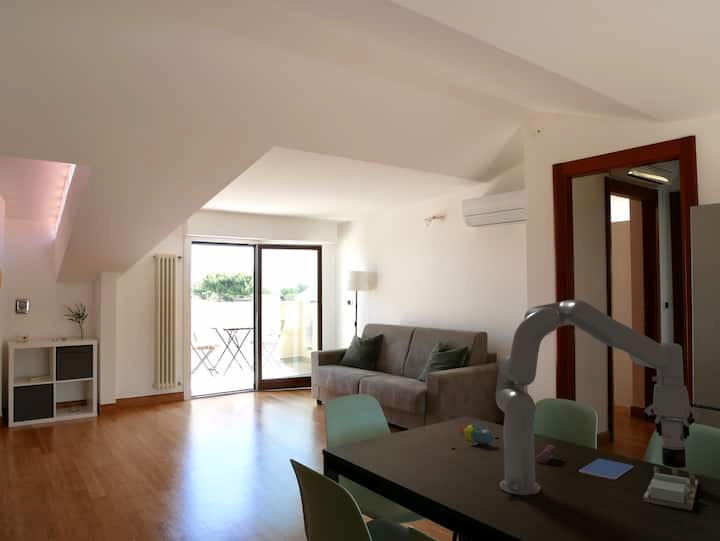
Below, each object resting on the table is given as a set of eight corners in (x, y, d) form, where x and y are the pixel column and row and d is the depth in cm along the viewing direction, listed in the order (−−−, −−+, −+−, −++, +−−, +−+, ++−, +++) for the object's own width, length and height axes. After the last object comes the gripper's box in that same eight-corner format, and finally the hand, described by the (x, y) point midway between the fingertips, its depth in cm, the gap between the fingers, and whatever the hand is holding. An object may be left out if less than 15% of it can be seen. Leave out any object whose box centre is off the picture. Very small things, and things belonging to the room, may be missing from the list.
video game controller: (544, 468, 199) (552, 452, 198) (533, 460, 202) (541, 445, 200) (553, 461, 207) (560, 446, 206) (542, 454, 210) (549, 439, 208)
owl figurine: (485, 416, 242) (512, 423, 230) (485, 435, 242) (512, 443, 230) (439, 425, 226) (466, 433, 214) (439, 446, 226) (466, 455, 213)
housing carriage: (683, 503, 157) (682, 487, 157) (651, 497, 162) (650, 482, 162) (686, 493, 165) (685, 477, 165) (655, 487, 170) (654, 472, 170)
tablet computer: (598, 461, 204) (598, 457, 204) (634, 468, 195) (634, 464, 195) (578, 473, 190) (578, 469, 190) (615, 482, 181) (615, 478, 181)
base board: (691, 510, 155) (691, 493, 156) (643, 501, 163) (642, 485, 163) (698, 483, 177) (697, 468, 178) (655, 476, 185) (654, 462, 185)
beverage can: (677, 462, 179) (675, 417, 180) (690, 469, 172) (688, 421, 173) (658, 463, 179) (656, 417, 179) (670, 469, 172) (668, 422, 173)
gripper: (639, 380, 179) (641, 435, 178) (700, 385, 169) (703, 443, 168) (642, 377, 185) (644, 430, 184) (702, 381, 175) (704, 437, 174)
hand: (672, 436), depth 176 cm, fingers closed on beverage can, 6 cm apart
